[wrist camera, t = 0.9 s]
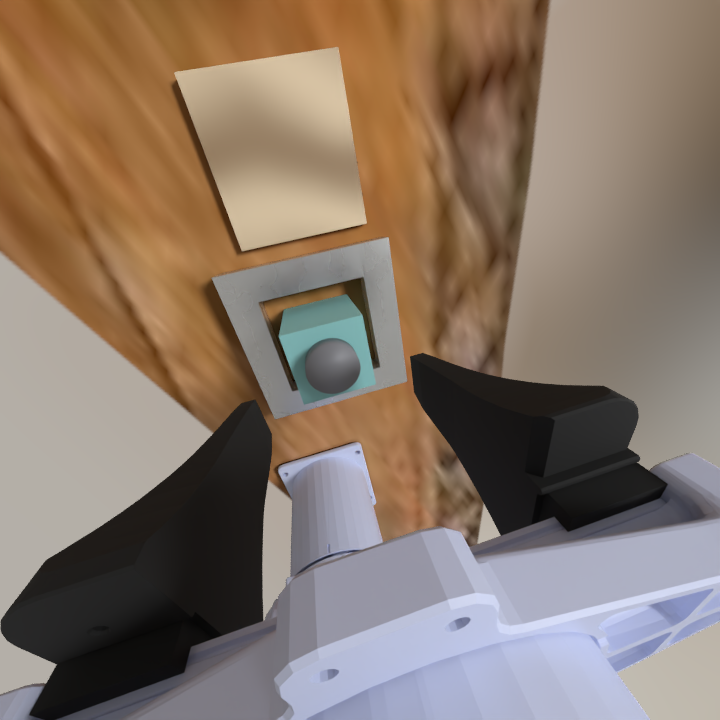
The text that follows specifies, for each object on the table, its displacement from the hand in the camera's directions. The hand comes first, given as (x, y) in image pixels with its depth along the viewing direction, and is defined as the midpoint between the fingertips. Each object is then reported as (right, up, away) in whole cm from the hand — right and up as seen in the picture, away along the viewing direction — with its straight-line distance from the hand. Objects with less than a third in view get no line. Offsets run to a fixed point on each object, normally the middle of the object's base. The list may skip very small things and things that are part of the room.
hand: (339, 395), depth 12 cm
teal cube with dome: (-2, +4, +8) cm, 9 cm away
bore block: (-2, +4, +8) cm, 9 cm away
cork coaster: (-3, +13, +3) cm, 14 cm away
